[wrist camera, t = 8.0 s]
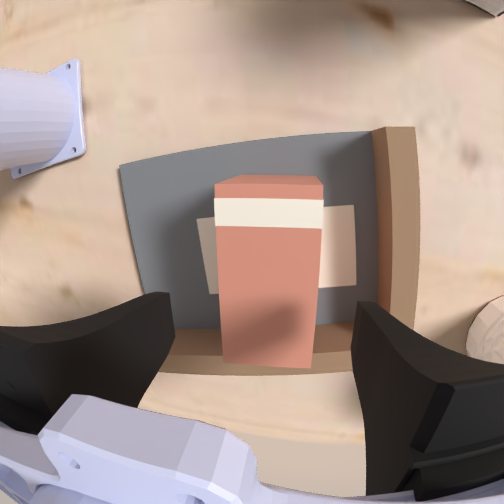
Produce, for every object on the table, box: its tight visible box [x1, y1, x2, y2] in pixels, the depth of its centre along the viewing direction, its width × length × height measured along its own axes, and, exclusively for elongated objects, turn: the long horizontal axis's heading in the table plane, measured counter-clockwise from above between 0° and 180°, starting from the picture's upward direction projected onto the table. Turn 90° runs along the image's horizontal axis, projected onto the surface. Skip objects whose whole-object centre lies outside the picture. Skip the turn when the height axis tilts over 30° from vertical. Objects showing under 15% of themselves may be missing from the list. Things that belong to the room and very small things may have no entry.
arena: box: [119, 127, 420, 376], centre depth 19 cm, size 18×14×4 cm
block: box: [214, 175, 324, 368], centre depth 17 cm, size 5×9×6 cm, turn 0°
